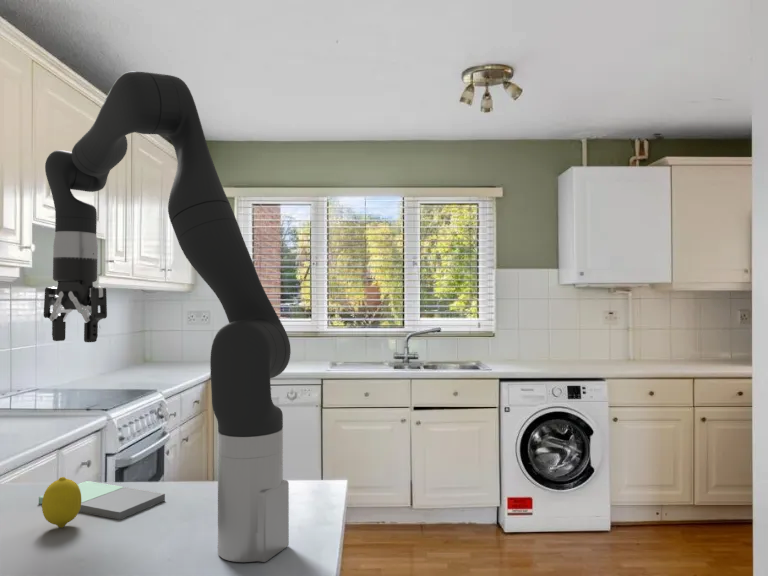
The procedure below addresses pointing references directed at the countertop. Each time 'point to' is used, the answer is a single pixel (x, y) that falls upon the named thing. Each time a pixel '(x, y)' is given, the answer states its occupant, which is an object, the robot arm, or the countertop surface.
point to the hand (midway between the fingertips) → (74, 341)
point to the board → (114, 499)
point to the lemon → (61, 502)
